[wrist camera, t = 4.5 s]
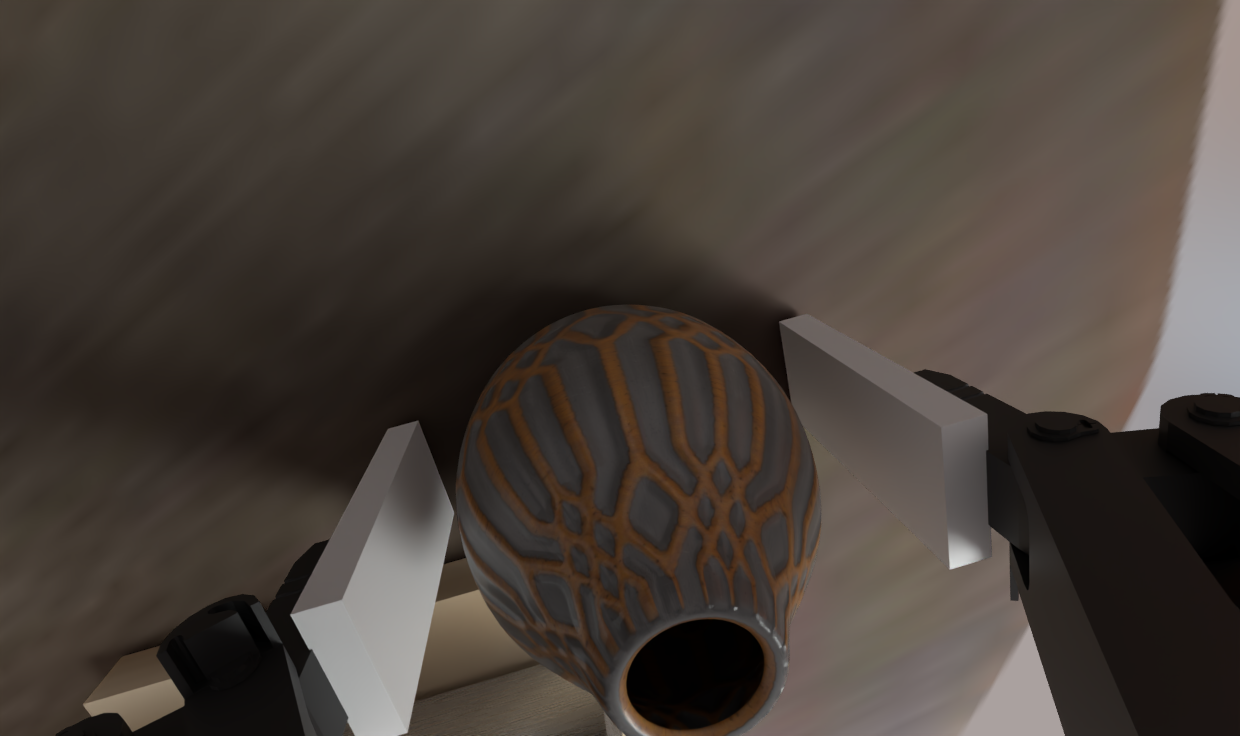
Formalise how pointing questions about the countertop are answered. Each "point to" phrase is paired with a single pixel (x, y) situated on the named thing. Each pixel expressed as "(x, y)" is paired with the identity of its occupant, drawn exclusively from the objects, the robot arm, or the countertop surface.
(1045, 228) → the countertop surface
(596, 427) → the vase
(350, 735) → the block
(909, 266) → the countertop surface
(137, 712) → the vise
